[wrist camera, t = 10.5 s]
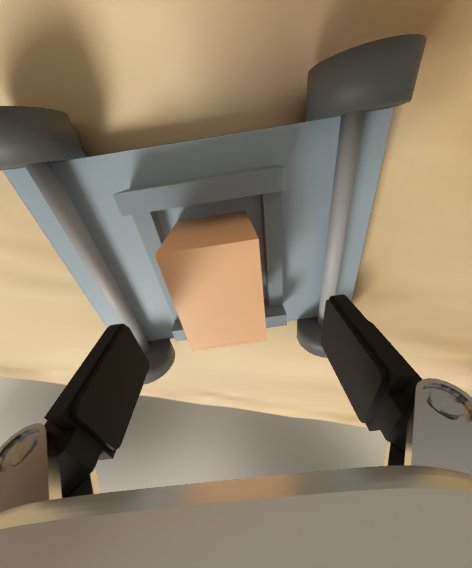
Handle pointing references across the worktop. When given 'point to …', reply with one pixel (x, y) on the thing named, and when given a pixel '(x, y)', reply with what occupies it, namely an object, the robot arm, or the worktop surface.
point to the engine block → (215, 279)
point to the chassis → (220, 197)
